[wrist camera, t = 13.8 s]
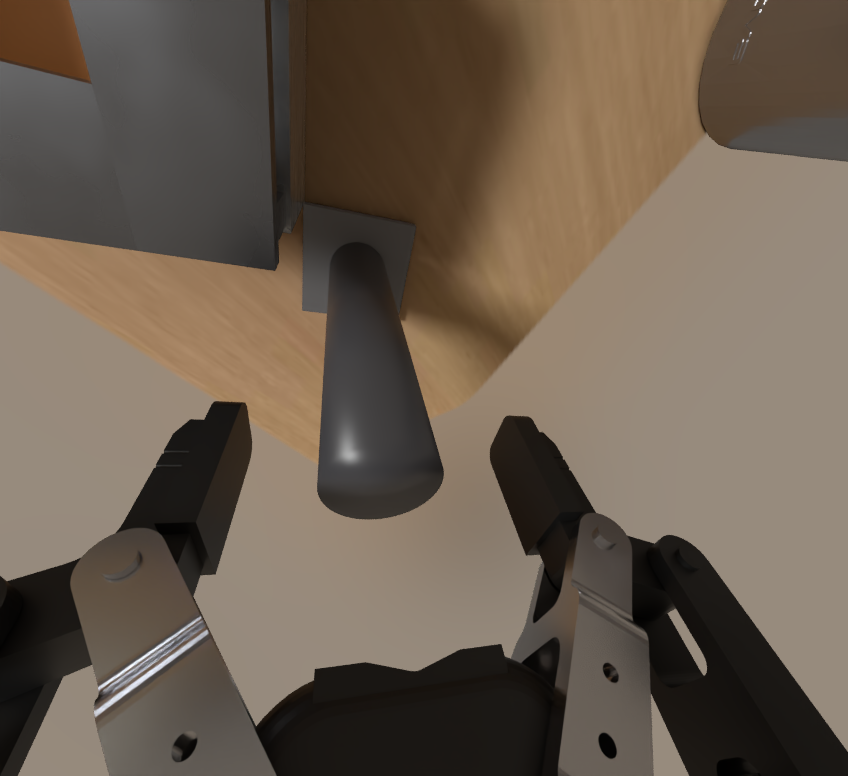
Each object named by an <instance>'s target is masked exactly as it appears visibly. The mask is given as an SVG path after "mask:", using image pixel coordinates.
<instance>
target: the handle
mask: <svg viewBox="0 0 848 776" xmlns="http://www.w3.org/2000/svg"><path fill="white" fill-rule="evenodd" d="M443 476H444V471H443V466H442V463H441V459H440V456H439V452H438V449H437V445H436V442H435V438H434V435H433V432H432V428H431V425H430V421H429V418H428V414H427V411H426V407H425V404H424V400H423V397H422V393H421V390H420V386H419V383H418V380H417V376H416V373H415V369H414V366H413V362H412V359H411V355H410V352H409V348H408V345H407V342H406V338H405V335H404V331H403V328H402V324H401V321H400V317H399V314H398V310H397V307H396V303H395V300H394V297H393V293H392V290H391V286H390V283H389V279H388V276H387V272H386V269H385V265H384V262H383V260H382V257H381V256H380V254H379V253H378V252H377V251H376V250H375V249H374V248H372V247H371V246H369V245H367V244H364V243H360V242H352V243H348V244H345V245H343V246H341V247H340V248H338V249H337V250H336V252H335V253H334V254H333V256H332V258H331V261H330V269H329V287H328V304H327V322H326V340H325V358H324V375H323V393H322V411H321V429H320V446H319V464H318V483H317V492H318V495H319V497H320V499H321V501H322V502H323V504H324V505H325V506H326V507H328V508H329V509H330V510H332V511H334V512H336V513H338V514H340V515H343V516H346V517H350V518H356V519H382V518H388V517H393V516H397V515H400V514H403V513H406V512H408V511H411V510H413V509H415V508H417V507H419V506H420V505H422V504H424V503H425V502H426V501H428V500H429V499H430V498H431V497H432V496H433V495H434V494H435V493H436V492H437V491H438V489H439V487H440V486H441V484H442V481H443Z"/></svg>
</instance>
